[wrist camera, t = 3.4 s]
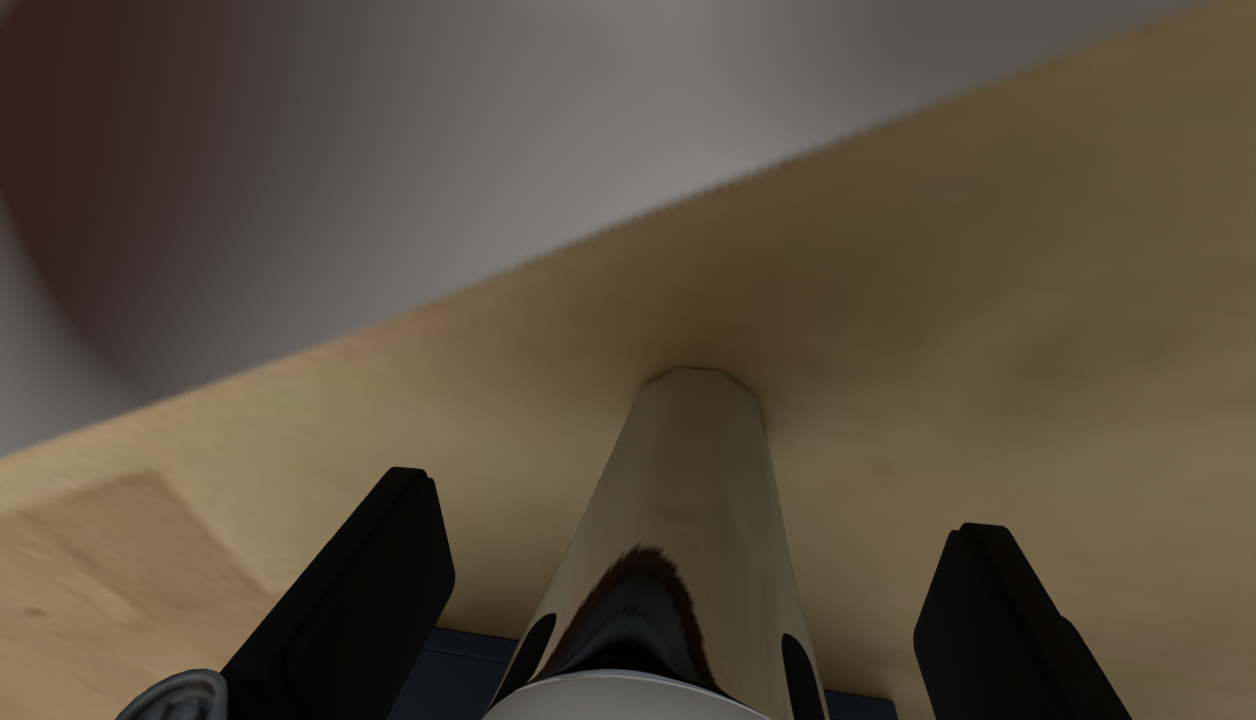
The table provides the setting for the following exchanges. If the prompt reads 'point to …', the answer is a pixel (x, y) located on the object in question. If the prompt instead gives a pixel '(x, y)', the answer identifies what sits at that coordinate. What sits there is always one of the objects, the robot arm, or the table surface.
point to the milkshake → (673, 579)
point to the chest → (473, 665)
